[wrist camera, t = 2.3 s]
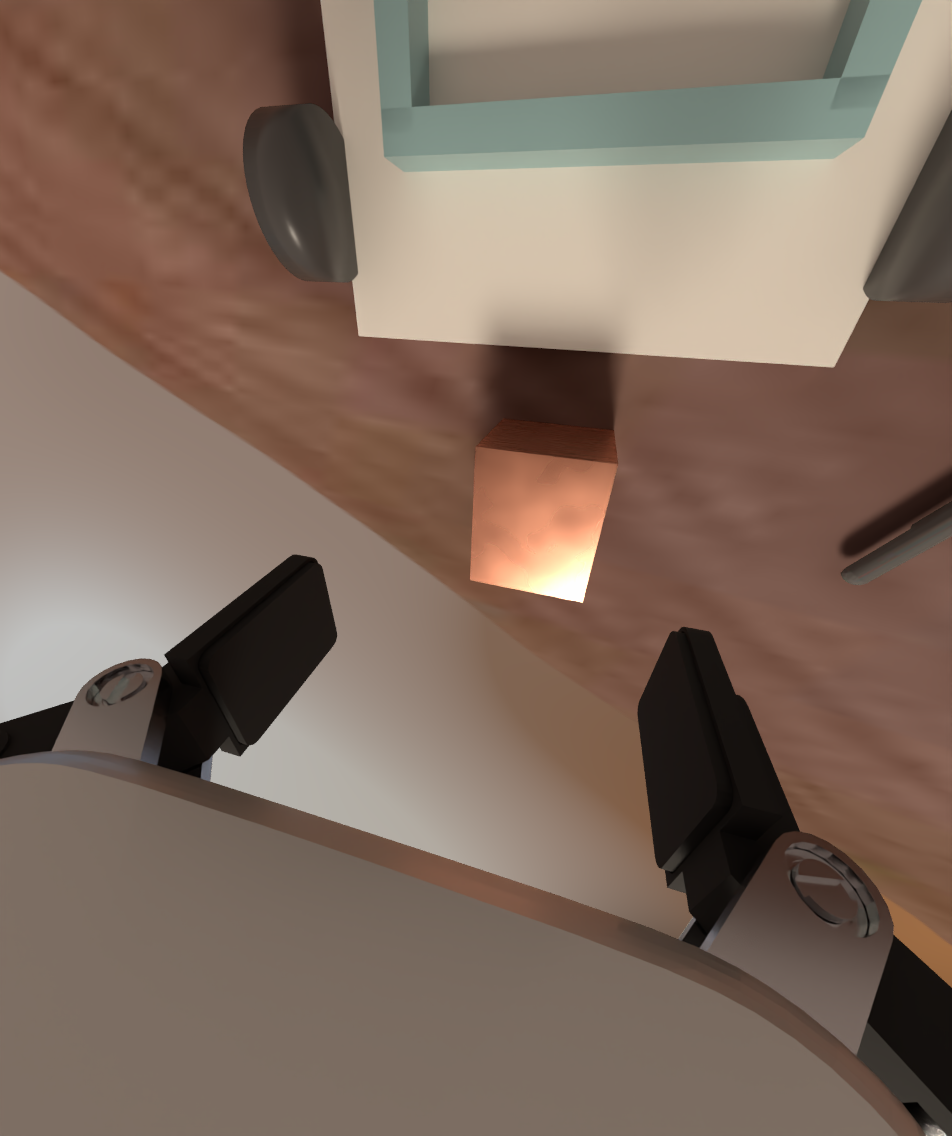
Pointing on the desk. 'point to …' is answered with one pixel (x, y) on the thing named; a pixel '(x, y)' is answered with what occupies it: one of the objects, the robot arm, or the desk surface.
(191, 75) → the desk surface
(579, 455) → the orange-brown block
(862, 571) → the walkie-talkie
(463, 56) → the chassis
